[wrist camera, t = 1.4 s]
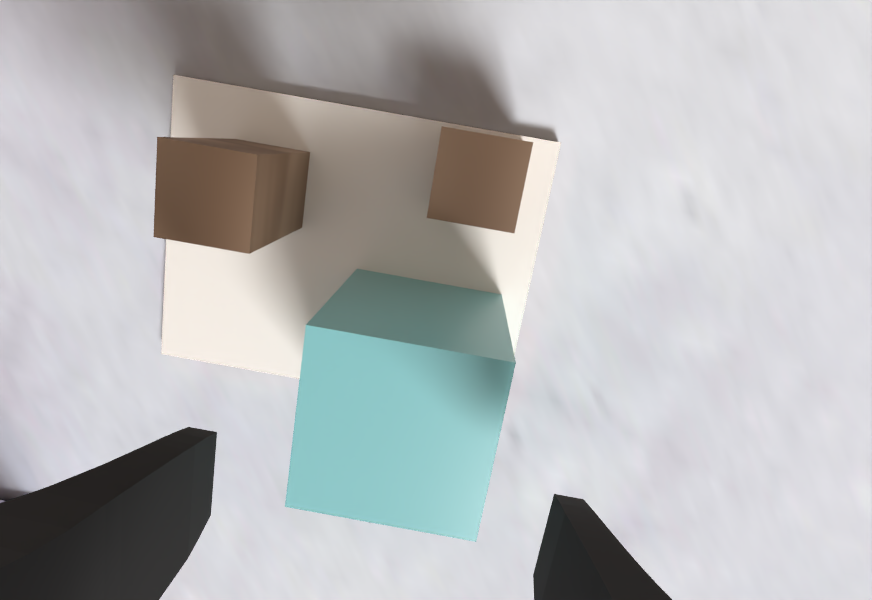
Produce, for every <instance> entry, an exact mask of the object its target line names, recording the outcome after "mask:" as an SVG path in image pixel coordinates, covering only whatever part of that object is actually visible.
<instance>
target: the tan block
mask: <svg viewBox="0 0 872 600" xmlns="http://www.w3.org/2000/svg"><path fill="white" fill-rule="evenodd" d="M532 146H533V142H529V141H523V140H518V139H512V138H506V137H500V136H495V135H489V134H483V133H478V132H472V131H466V130H461V129H455V128H449V127H443V126H442V127H441V134H440V140H439V146H438V152H437V158H436V164H435V170H434V176H433V182H432V188H431V194H430V200H429V206H428V212H427V218H430V219H436V220H441V221H447V222H452V223H458V224H464V225H469V226H475V227H481V228H486V229H492V230H498V231H503V232H509V233H515V228H516V224H517V219H518V214H519V209H520V204H521V199H522V195H523V190H524V185H525V180H526V175H527V170H528V166H529V161H530V156H531V151H532Z"/></svg>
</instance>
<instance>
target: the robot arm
mask: <svg viewBox="0 0 872 600" xmlns="http://www.w3.org/2000/svg"><path fill="white" fill-rule="evenodd" d="M216 437H217V432H213V431H207V430H202V429H196V428H191V427H187V428H185V429H182V430H179V431H177V432H174V433H172V434H170V435H168V436H165V437H163V438H161V439H159V440H156V441H154V442H152V443H150V444H148V445H145V446H143V447H141V448H139V449H137V450H134V451H132V452H130V453H128V454H126V455H123V456H121V457H119V458H117V459H114V460H112V461H110V462H108V463H105V464H103V465H101V466H98V467H96V468H93V469H91V470H89V471H86V472H84V473H81V474H79V475H76V476H74V477H71V478H69V479H66V480H64V481H61V482H59V483H56V484H54V485H51V486H49V487H46V488H43V489H41V490H38V491H35V492H32V493H29V494H26V495H23V496H21V497H17V498H14V499H11V500H8V501H4V500H0V600H159V599H160V597H161V596H162V595H163V593H164V592H165V590H166V589H167V587H168V586H169V585H170V583H171V582H172V580H173V579H174V577H175V576H176V575H177V573H178V572H179V570H180V569H181V567H182V566H183V565H184V563H185V562H186V560H187V559H188V557H189V555H190V553H191V552H192V550H193V548H194V546H195V544H196V542H197V541H198V539H199V537H200V535H201V533H202V531H203V529H204V527H205V525H206V523H207V521H208V519H209V517H210V516H211V504H212V490H213V477H214V463H215V450H216ZM533 578H534V600H672V599H671V598H670V597H669V596H668V595H667V594H666V593H665V592H664V591H663V590H662V589H661V588H660V587H659V586H658V585H657V584H656V583H655V582H654V580H653V579H652V578H651V577H650V576H649V575H648V574H647V573H646V572H645V571H644V570H643V569H642V567H641V566H640V565H639V564H638V563H637V562H636V561H635V560H634V558H633V557H632V556H631V555H630V554H629V553H628V551H627V550H626V549H625V548H624V547H623V546H622V544H621V543H620V542H619V541H618V540H617V539H616V537H615V536H614V535H613V534H612V533H611V531H610V530H609V529H608V528H607V527H606V525H605V524H604V523H603V522H602V521H601V519H600V518H599V517H598V516H597V515H596V513H595V512H594V511H593V510H592V509H591V507H590V506H589V505H588V504H587V503H586V502H585V501H584V500H583V499H578V498H573V497H568V496H562V495H557V494H554V497H553V501H552V505H551V509H550V513H549V516H548V520H547V524H546V528H545V532H544V536H543V540H542V544H541V547H540V551H539V555H538V559H537V563H536V567H535V571H534V574H533Z"/></svg>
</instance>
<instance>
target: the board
mask: <svg viewBox="0 0 872 600" xmlns="http://www.w3.org/2000/svg"><path fill="white" fill-rule="evenodd" d="M442 126H443V127H449V128H455V129H461V130H466V131H472V132H478V133H483V134H489V135H495V136H500V137H506V138H512V139H518V140H523V141H529V142H533V146H532V151H531V156H530V161H529V166H528V170H527V175H526V180H525V185H524V190H523V195H522V199H521V204H520V209H519V214H518V219H517V224H516V228H515V233H509V232H503V231H498V230H492V229H486V228H481V227H475V226H469V225H464V224H458V223H452V222H447V221H441V220H436V219H430V218H427V212H428V206H429V200H430V194H431V188H432V182H433V176H434V170H435V164H436V158H437V152H438V146H439V140H440V134H441V127H442ZM171 137H180V138H224V139H239V140H245V141H250V142H256V143H262V144H267V145H273V146H279V147H284V148H290V149H296V150H301V151H307V152H310V159H309V168H308V177H307V187H306V196H305V205H304V215H303V224H302V228H301V229H299V230H296V231H294V232H292V233H290V234H288V235H286V236H284V237H282V238H280V239H278V240H276V241H274V242H272V243H270V244H268V245H266V246H264V247H262V248H260V249H258V250H256V251H254V252H252V253H250V254H247V253H241V252H236V251H230V250H224V249H219V248H213V247H208V246H202V245H196V244H191V243H185V242H180V241H174V240H168V239H166V256H165V279H164V302H163V325H162V348H161V354H164V355H169V356H175V357H181V358H186V359H192V360H197V361H203V362H208V363H214V364H219V365H225V366H230V367H236V368H241V369H247V370H252V371H258V372H263V373H269V374H274V375H280V376H285V377H291V378H296V379H300V371H301V362H302V354H303V345H304V336H305V327H306V324H307V323H308V322H309V321H310V320H311V319H312V317H313V316H314V315H315V314H316V313H317V312H318V311H319V310H320V309H321V308H322V307H323V305H324V304H325V303H326V302H327V301H328V300H329V299H330V298H331V297H332V296H333V294H334V293H335V292H336V291H337V290H338V289H339V288H340V287H341V286H342V285H343V283H344V282H345V281H346V280H347V279H348V278H349V277H350V276H351V275H352V274H353V272H354V271H355V270H356V269H362V270H368V271H373V272H379V273H384V274H390V275H396V276H401V277H407V278H412V279H418V280H424V281H429V282H435V283H440V284H446V285H452V286H457V287H463V288H468V289H474V290H480V291H485V292H491V293H496V294H502V299H503V304H504V308H505V313H506V318H507V323H508V328H509V333H510V337H511V342H512V347H513V352H514V355H515V350H516V345H517V341H518V336H519V332H520V327H521V323H522V318H523V314H524V309H525V304H526V300H527V295H528V291H529V286H530V282H531V277H532V273H533V268H534V264H535V259H536V254H537V250H538V245H539V241H540V236H541V232H542V227H543V223H544V218H545V214H546V209H547V204H548V200H549V195H550V191H551V186H552V182H553V177H554V173H555V168H556V163H557V159H558V154H559V150H560V145H561V143H560V142H555V141H549V140H543V139H537V138H532V137H526V136H520V135H515V134H509V133H503V132H498V131H492V130H486V129H480V128H475V127H469V126H463V125H458V124H452V123H446V122H441V121H435V120H429V119H423V118H418V117H412V116H406V115H401V114H395V113H389V112H384V111H378V110H372V109H366V108H361V107H355V106H349V105H344V104H338V103H332V102H327V101H321V100H315V99H309V98H304V97H298V96H292V95H287V94H281V93H275V92H270V91H264V90H258V89H252V88H247V87H241V86H235V85H230V84H224V83H218V82H213V81H207V80H201V79H195V78H190V77H184V76H178V75H173V94H172V117H171Z"/></svg>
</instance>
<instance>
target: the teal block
mask: <svg viewBox="0 0 872 600" xmlns="http://www.w3.org/2000/svg"><path fill="white" fill-rule="evenodd" d="M515 364H516V362H515V357H514V352H513V347H512V342H511V337H510V333H509V328H508V323H507V318H506V313H505V308H504V304H503V299H502V294H496V293H491V292H485V291H480V290H474V289H468V288H463V287H457V286H452V285H446V284H440V283H435V282H429V281H424V280H418V279H412V278H407V277H401V276H396V275H390V274H384V273H379V272H373V271H368V270H362V269H356V270H355V271H354V272H353V274H352V275H351V276H350V277H349V278H348V279H347V280H346V281H345V282H344V283H343V285H342V286H341V287H340V288H339V289H338V290H337V291H336V292H335V293H334V294H333V296H332V297H331V298H330V299H329V300H328V301H327V302H326V303H325V304H324V305H323V307H322V308H321V309H320V310H319V311H318V312H317V313H316V314H315V315H314V316H313V317H312V319H311V320H310V321H309V322H308V323H307V324H306V327H305V336H304V345H303V354H302V362H301V371H300V380H299V389H298V398H297V406H296V415H295V424H294V433H293V442H292V450H291V459H290V468H289V477H288V486H287V494H286V503H285V507H290V508H295V509H301V510H306V511H311V512H317V513H322V514H328V515H333V516H339V517H344V518H350V519H355V520H360V521H366V522H371V523H377V524H382V525H388V526H393V527H399V528H404V529H409V530H415V531H420V532H426V533H431V534H437V535H442V536H448V537H453V538H458V539H464V540H469V541H475V542H476V540H477V535H478V531H479V526H480V522H481V517H482V513H483V508H484V504H485V499H486V495H487V490H488V486H489V481H490V477H491V472H492V468H493V463H494V459H495V454H496V449H497V445H498V440H499V436H500V431H501V427H502V422H503V418H504V413H505V409H506V404H507V400H508V395H509V391H510V386H511V382H512V377H513V373H514V368H515Z"/></svg>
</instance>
